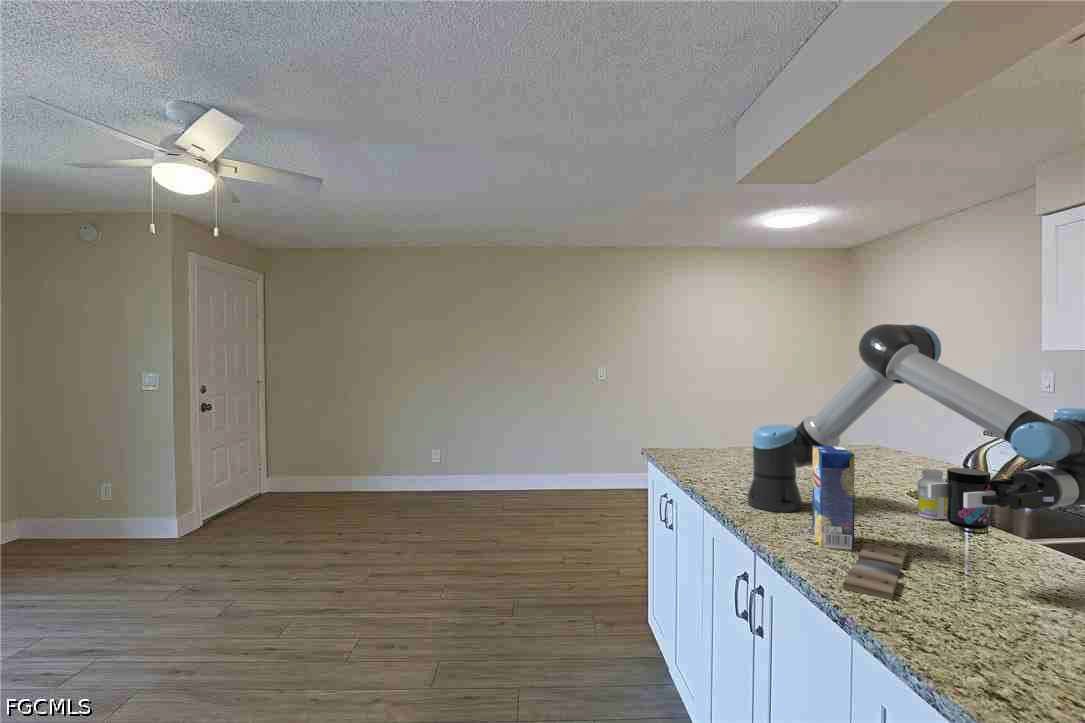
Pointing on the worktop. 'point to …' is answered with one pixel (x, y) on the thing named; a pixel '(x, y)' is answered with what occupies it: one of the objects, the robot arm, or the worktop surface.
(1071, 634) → the worktop surface
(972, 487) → the supplement container
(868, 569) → the hinge leaves
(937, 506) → the supplement bottle
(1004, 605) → the worktop surface
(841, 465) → the beverage box
